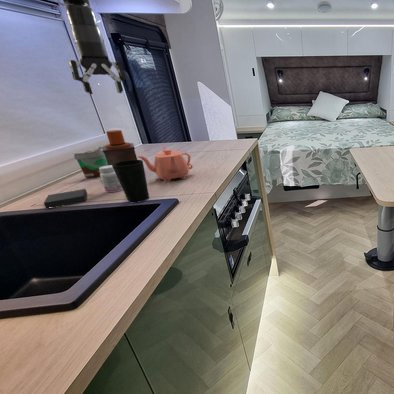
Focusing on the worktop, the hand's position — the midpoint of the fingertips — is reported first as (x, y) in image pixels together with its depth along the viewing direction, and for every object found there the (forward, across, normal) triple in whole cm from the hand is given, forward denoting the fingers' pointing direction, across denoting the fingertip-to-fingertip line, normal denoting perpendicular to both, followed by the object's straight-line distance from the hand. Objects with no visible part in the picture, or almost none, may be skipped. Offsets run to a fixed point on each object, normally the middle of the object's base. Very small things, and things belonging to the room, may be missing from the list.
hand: (105, 93), depth 102 cm
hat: (+19, 0, -2) cm, 19 cm away
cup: (+31, +8, +28) cm, 43 cm away
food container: (+31, +5, -14) cm, 34 cm away
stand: (+31, +22, +11) cm, 39 cm away
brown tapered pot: (+31, 0, -2) cm, 31 cm away
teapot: (+31, -8, +14) cm, 35 cm away
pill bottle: (+31, +9, +12) cm, 35 cm away
